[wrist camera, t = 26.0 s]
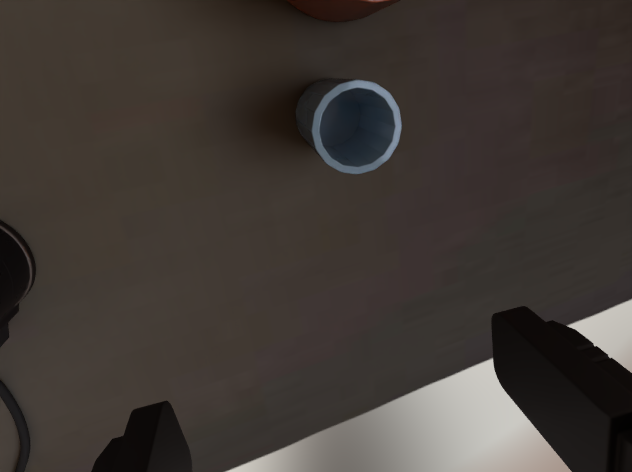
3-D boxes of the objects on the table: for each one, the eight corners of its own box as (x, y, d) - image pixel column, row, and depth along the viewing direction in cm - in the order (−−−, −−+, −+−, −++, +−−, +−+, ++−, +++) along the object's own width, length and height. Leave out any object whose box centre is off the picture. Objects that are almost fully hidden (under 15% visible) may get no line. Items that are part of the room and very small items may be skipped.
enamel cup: (356, 154, 40) (391, 178, 30) (291, 145, 38) (306, 168, 29) (369, 85, 38) (410, 88, 28) (300, 73, 36) (320, 73, 27)
